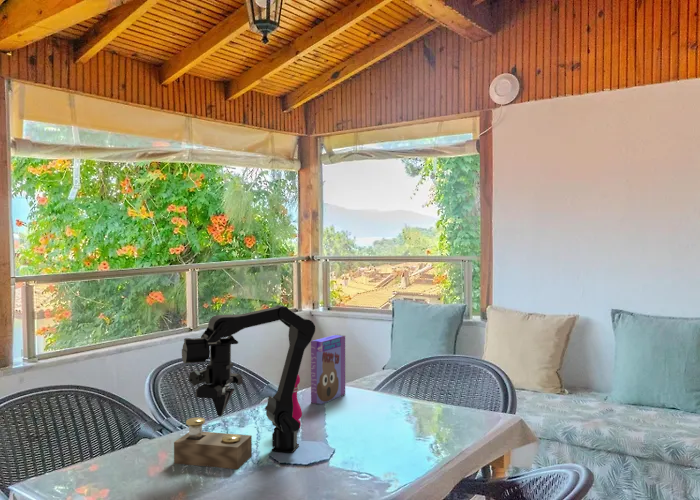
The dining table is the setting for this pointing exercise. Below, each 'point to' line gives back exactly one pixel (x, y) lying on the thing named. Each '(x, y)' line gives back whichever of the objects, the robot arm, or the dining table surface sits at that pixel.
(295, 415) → the pepper mill
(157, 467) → the dining table surface
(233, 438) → the peg
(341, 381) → the cereal box
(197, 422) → the peg
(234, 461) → the block
